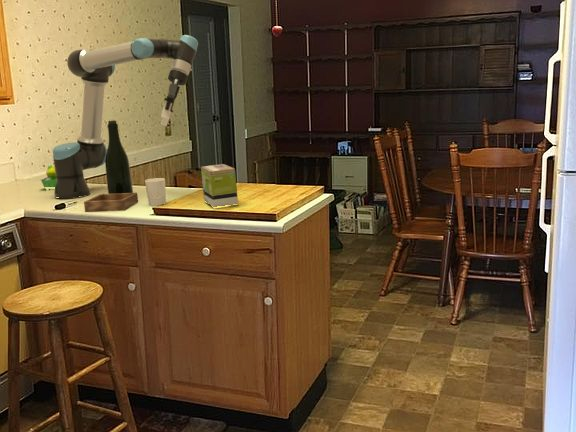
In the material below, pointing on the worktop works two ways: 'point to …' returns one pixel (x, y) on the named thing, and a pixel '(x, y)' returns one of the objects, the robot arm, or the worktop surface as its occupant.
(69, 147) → the robot arm
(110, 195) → the walnut box
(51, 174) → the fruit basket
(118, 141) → the wine bottle
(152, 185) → the white cup
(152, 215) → the worktop surface
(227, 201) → the tea box
